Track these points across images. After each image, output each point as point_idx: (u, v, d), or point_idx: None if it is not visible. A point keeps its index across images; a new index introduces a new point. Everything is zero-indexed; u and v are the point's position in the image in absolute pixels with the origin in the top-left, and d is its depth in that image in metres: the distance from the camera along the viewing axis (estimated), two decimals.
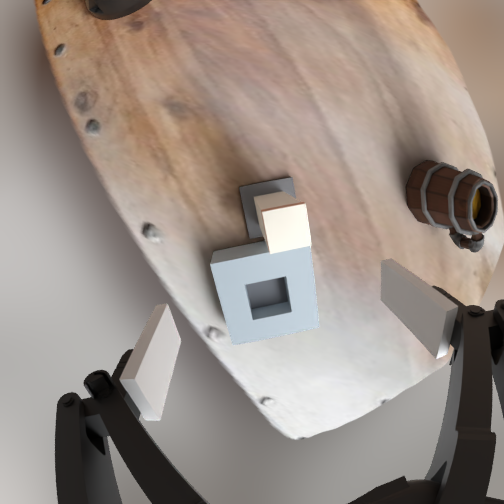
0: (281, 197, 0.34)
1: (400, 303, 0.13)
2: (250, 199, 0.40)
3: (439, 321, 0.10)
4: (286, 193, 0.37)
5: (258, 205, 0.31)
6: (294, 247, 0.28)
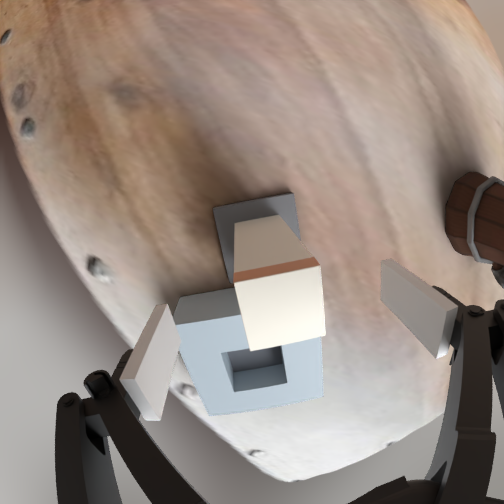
0: (275, 233, 0.21)
1: (400, 303, 0.13)
2: (230, 227, 0.27)
3: (439, 321, 0.10)
4: (284, 221, 0.24)
5: (234, 253, 0.18)
6: (294, 340, 0.15)
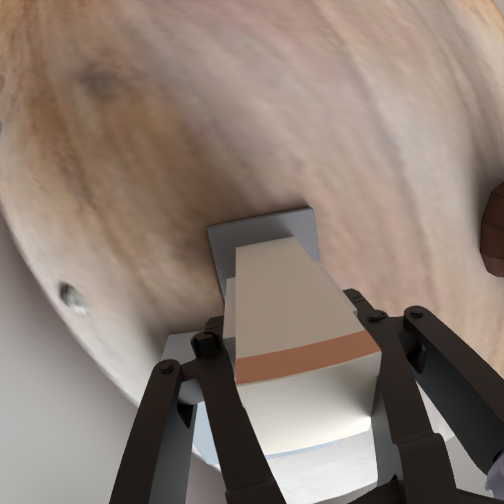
0: (295, 270, 0.14)
1: None
2: (229, 252, 0.21)
3: None
4: (303, 249, 0.17)
5: None
6: (326, 440, 0.08)
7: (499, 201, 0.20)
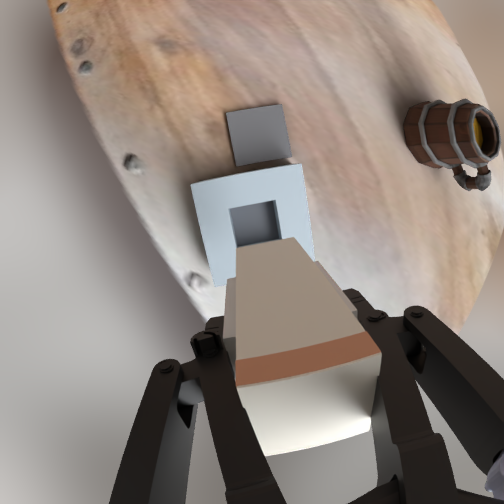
0: (295, 271, 0.14)
1: None
2: (237, 124, 0.35)
3: None
4: (303, 250, 0.17)
5: None
6: (326, 441, 0.08)
7: (413, 110, 0.35)
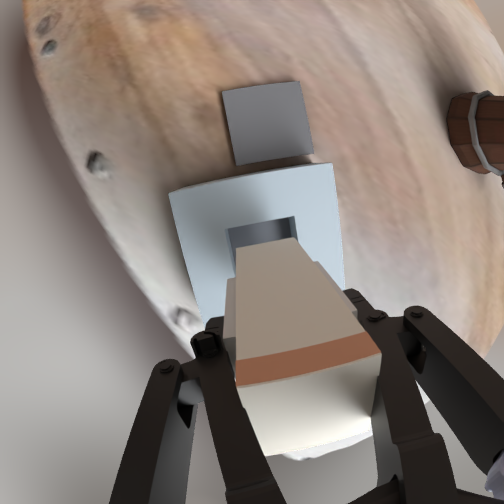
0: (295, 271, 0.14)
1: None
2: (238, 107, 0.24)
3: None
4: (303, 250, 0.17)
5: None
6: (326, 441, 0.08)
7: (458, 101, 0.24)
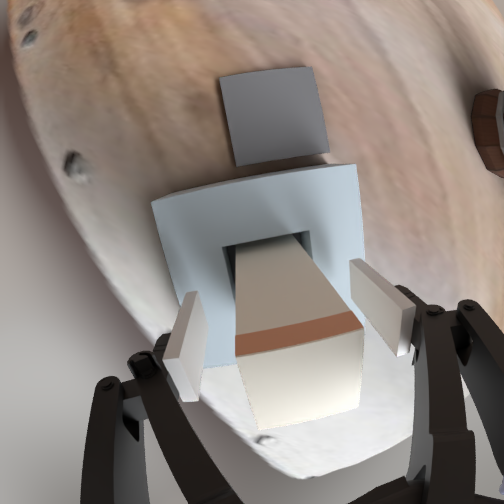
0: (290, 261, 0.16)
1: (365, 301, 0.15)
2: (238, 96, 0.20)
3: (397, 319, 0.11)
4: (298, 243, 0.19)
5: None
6: (318, 416, 0.10)
7: (483, 98, 0.19)
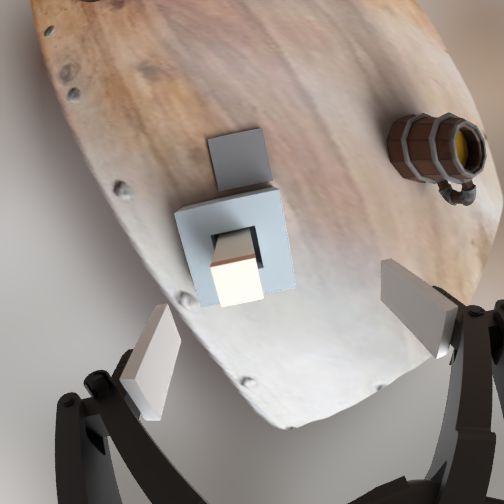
0: (241, 240, 0.33)
1: (400, 303, 0.13)
2: (219, 150, 0.38)
3: (439, 321, 0.10)
4: None
5: None
6: (245, 300, 0.27)
7: (396, 125, 0.37)
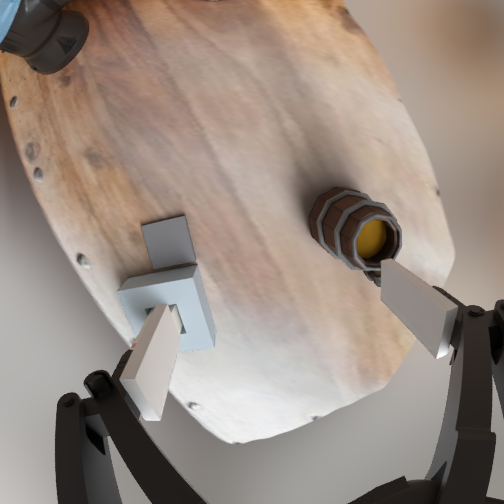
0: None
1: (400, 303, 0.13)
2: (150, 236, 0.45)
3: (439, 321, 0.10)
4: (173, 308, 0.44)
5: None
6: None
7: (318, 202, 0.44)
